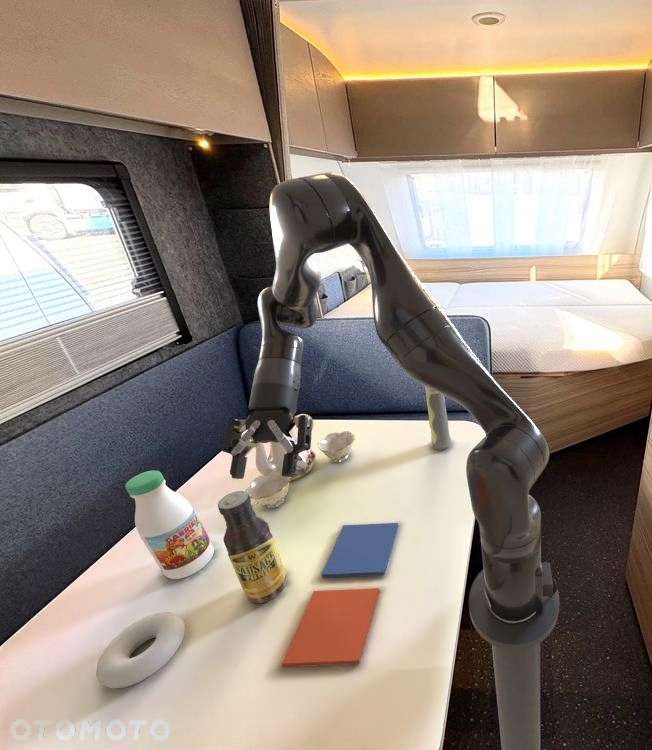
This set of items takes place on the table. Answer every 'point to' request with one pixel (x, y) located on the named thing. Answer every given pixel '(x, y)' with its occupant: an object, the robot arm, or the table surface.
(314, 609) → the terracotta mat
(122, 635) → the donut
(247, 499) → the sauce bottle
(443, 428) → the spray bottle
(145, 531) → the milk bottle
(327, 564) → the slate-blue mat
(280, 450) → the chinaware
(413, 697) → the table surface
